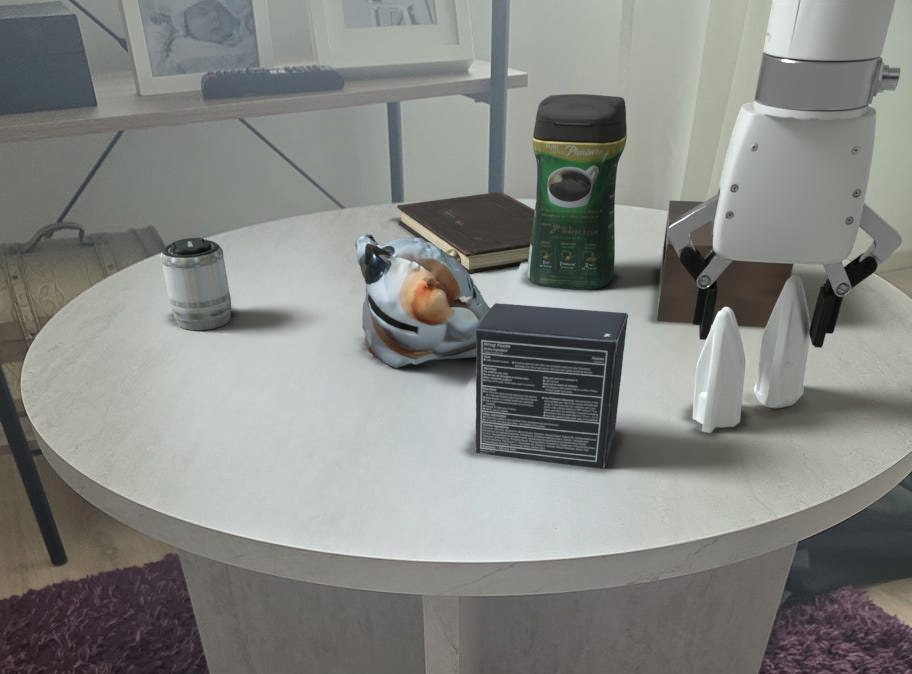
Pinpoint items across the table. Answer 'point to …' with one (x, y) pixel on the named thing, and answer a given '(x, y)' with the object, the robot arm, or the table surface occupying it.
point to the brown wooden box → (738, 285)
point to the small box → (548, 383)
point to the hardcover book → (474, 228)
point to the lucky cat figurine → (417, 302)
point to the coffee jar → (576, 190)
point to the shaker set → (777, 361)
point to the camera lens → (197, 283)
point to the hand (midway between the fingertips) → (758, 336)
